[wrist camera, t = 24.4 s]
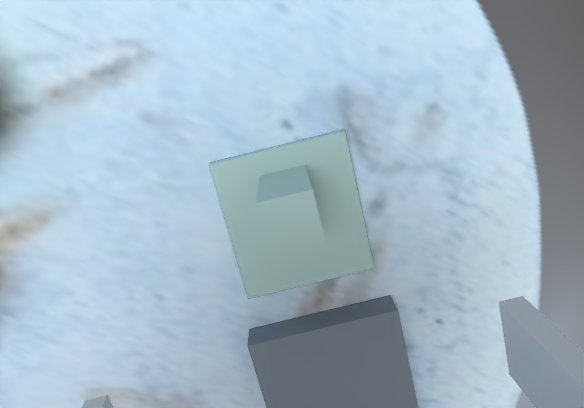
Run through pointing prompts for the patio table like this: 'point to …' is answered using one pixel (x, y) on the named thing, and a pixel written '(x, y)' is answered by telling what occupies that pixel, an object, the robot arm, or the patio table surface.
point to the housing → (335, 359)
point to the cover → (293, 213)
